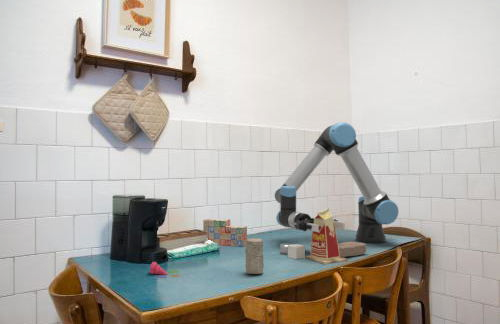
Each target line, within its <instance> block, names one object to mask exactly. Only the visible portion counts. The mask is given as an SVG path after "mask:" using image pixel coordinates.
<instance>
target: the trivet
mask: <svg viewBox="0 0 500 324" xmlns="http://www.w3.org/2000/svg"><path fill="white" fill-rule="evenodd" d="M304 259H307V260H310V261H313V262H317V263H319V264H322V265H329V264H335V263H340V262H341V263H343V262H348V260H349V259H348V258H346V257H340V258H338V259H331V260H321V259H317V258H314V257H311V255H305V258H304Z"/></svg>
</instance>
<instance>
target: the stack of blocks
mask: <svg viewBox="0 0 500 324" xmlns="http://www.w3.org/2000/svg"><path fill="white" fill-rule="evenodd" d="M202 223H203V226H202V227H203V228H202V231H207V238H208V240H211V241H213V242H215V243H217V244H219V245H218V246H223V247H224V246H226V247H238V248H239V247H240V248H243V247H245V245H246V241H247V239H248V226H247V225H231V219H230V218H228V219H227V218H205V219H204V220H203V221H202Z"/></svg>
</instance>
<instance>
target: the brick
mask: <svg viewBox="0 0 500 324" xmlns="http://www.w3.org/2000/svg"><path fill="white" fill-rule="evenodd" d="M338 246H339V254H340V257H343V258H346V257H354V256H359V255H364V254H366V251H367V244H366V243H365V242H359V241H357V242H356V241H345V242H338Z"/></svg>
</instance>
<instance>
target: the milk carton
mask: <svg viewBox="0 0 500 324" xmlns="http://www.w3.org/2000/svg"><path fill="white" fill-rule="evenodd" d="M316 214H317V215H316V216H315V217H313V218H314V224H316V225H318V232H315V231H312V232H311V243H310V256H311V257H314V258H317V259H321V260H331V259H338V258H340V254H339V246H338V243H339V241H338V235H337V230H336V229H337V228H335V225H334V221H333V220H334V217H333V215H332V213H331V212H330V207H327V208H326V209H324V210H322V211H320V212H317V213H316Z"/></svg>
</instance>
